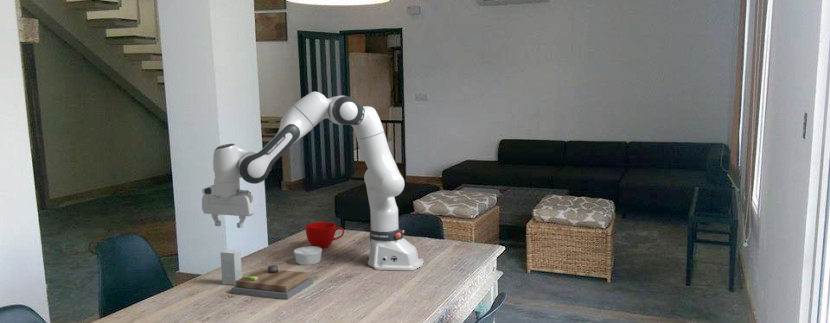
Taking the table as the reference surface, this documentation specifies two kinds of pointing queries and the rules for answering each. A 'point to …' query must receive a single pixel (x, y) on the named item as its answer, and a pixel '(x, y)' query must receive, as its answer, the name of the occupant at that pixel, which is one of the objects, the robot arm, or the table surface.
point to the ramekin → (308, 255)
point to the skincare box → (231, 266)
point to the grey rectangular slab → (273, 293)
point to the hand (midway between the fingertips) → (229, 226)
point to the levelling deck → (272, 279)
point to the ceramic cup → (321, 234)
